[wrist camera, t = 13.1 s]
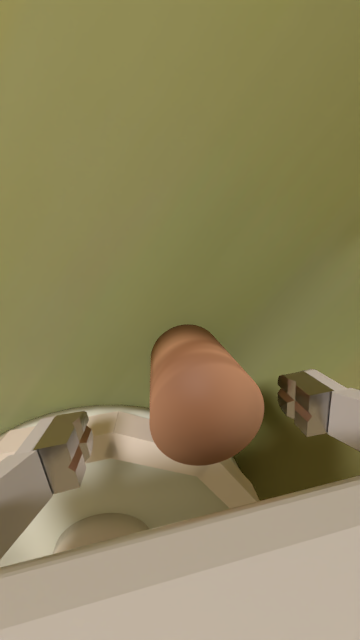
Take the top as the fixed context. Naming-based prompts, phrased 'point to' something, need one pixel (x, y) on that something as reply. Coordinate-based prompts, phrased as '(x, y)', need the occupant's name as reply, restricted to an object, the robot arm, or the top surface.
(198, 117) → the top surface
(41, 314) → the top surface
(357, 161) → the top surface
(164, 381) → the brown egg
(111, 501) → the tray
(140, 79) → the top surface
